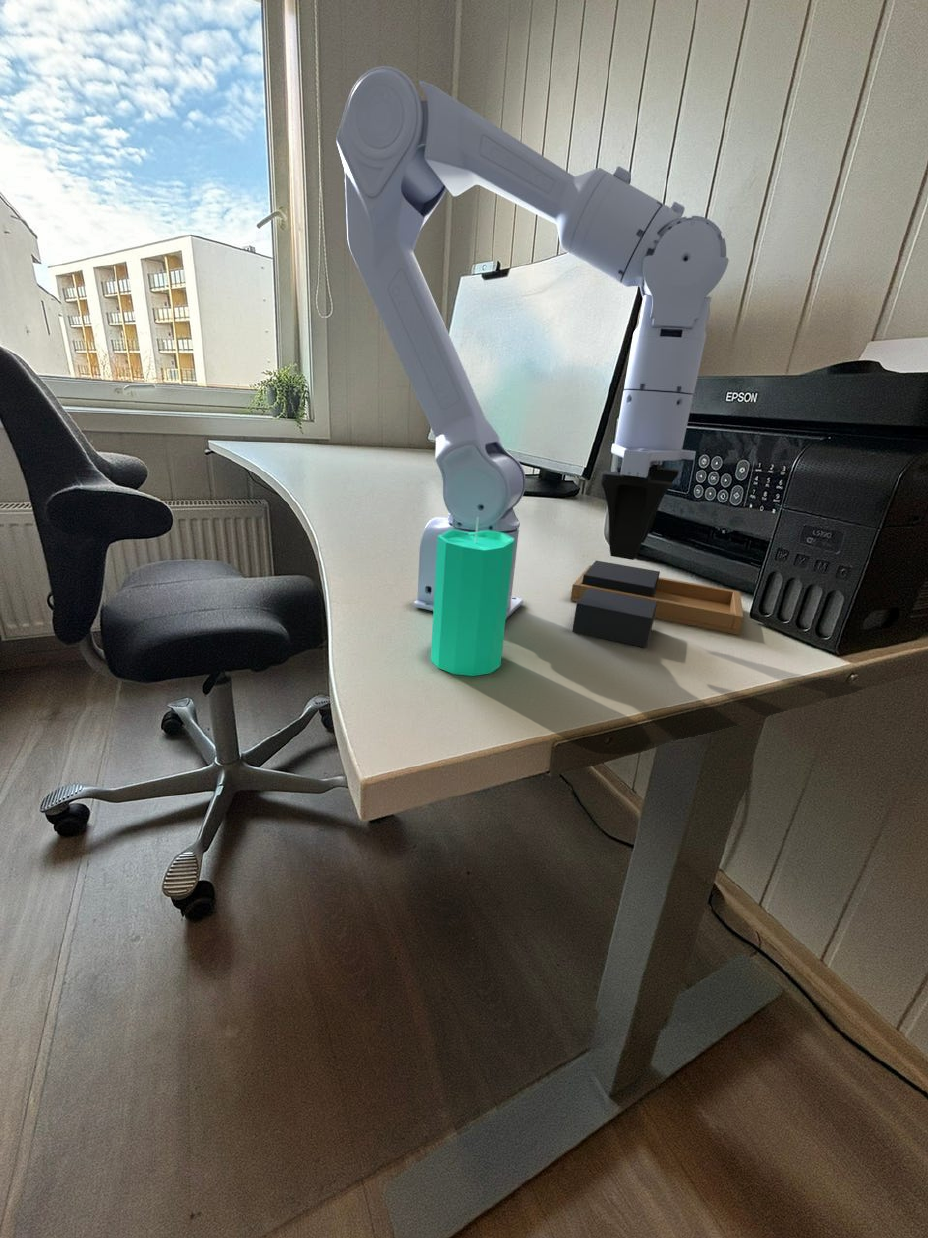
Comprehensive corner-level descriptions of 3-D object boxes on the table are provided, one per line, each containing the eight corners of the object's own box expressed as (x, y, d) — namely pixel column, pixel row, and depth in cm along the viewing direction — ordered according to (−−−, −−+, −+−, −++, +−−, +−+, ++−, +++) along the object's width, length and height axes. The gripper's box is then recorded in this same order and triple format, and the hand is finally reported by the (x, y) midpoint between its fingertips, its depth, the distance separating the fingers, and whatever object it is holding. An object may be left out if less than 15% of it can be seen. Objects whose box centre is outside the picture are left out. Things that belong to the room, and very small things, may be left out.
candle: (509, 652, 48) (525, 515, 43) (490, 682, 42) (505, 530, 38) (445, 639, 49) (454, 506, 45) (419, 666, 44) (426, 518, 40)
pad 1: (580, 595, 62) (583, 574, 61) (592, 579, 69) (595, 560, 68) (649, 609, 60) (654, 587, 59) (655, 591, 66) (660, 571, 65)
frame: (570, 600, 62) (572, 584, 61) (587, 579, 70) (589, 564, 69) (738, 635, 56) (743, 617, 55) (735, 607, 64) (740, 591, 63)
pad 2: (572, 631, 53) (576, 603, 52) (583, 614, 58) (588, 587, 57) (645, 648, 51) (652, 618, 50) (651, 628, 56) (657, 601, 55)
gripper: (707, 392, 39) (666, 574, 44) (708, 399, 51) (677, 540, 56) (607, 385, 41) (580, 559, 46) (632, 393, 54) (608, 530, 59)
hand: (628, 548), depth 51 cm, fingers open, 7 cm apart
